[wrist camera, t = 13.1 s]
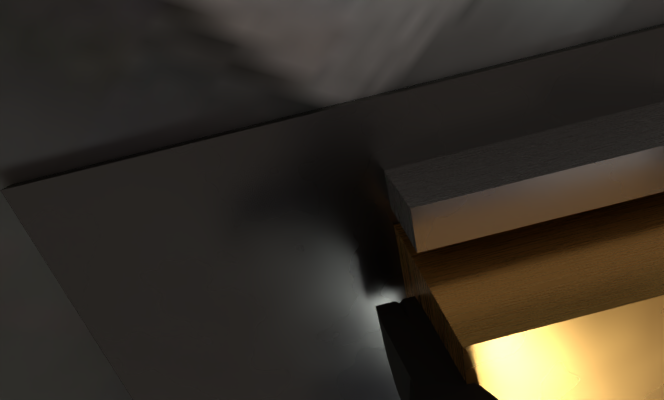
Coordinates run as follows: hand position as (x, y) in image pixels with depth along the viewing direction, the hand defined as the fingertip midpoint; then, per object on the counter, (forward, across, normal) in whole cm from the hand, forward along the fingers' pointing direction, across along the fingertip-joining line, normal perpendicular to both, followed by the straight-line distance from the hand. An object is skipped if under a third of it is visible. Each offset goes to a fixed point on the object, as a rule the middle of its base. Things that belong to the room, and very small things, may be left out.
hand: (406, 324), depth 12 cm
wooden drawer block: (+1, -4, 0) cm, 5 cm away
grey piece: (+2, 0, 0) cm, 2 cm away
